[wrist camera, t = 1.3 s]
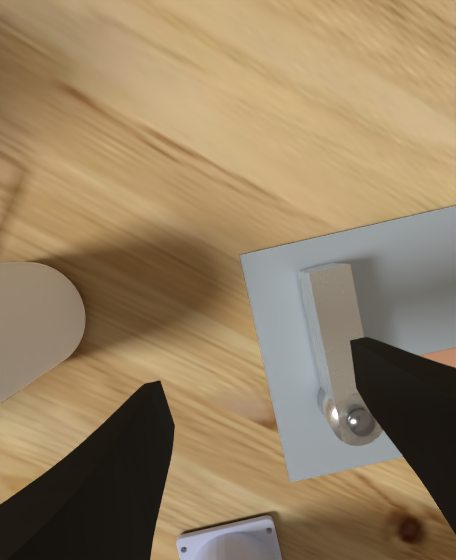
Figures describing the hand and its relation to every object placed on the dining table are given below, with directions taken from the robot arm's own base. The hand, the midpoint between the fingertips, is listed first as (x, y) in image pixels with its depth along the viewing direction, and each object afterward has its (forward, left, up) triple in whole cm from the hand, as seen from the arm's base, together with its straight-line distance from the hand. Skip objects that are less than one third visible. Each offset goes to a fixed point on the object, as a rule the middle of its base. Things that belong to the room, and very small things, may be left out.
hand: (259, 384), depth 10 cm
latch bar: (-3, -6, -10) cm, 12 cm away
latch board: (-4, -10, -11) cm, 16 cm away
